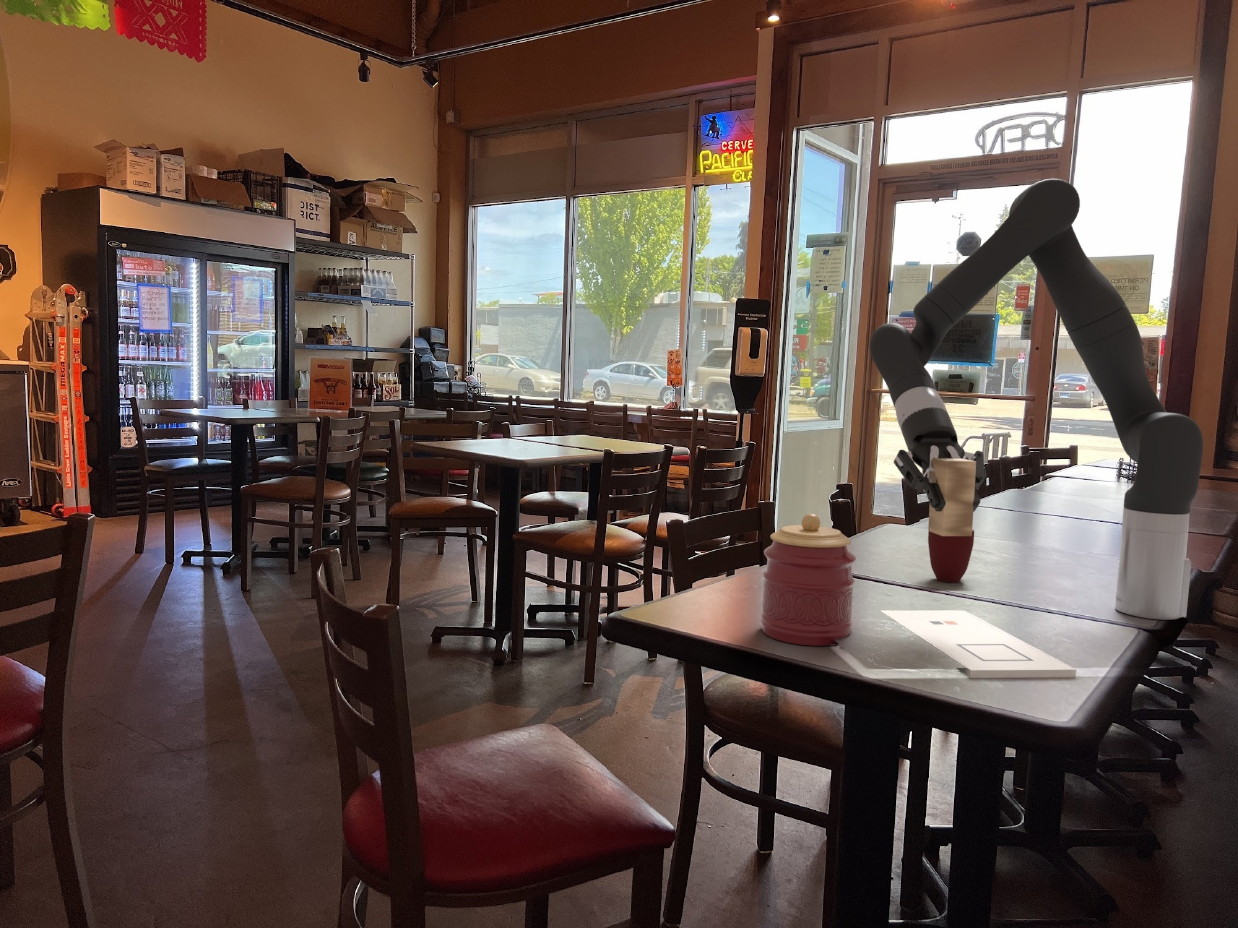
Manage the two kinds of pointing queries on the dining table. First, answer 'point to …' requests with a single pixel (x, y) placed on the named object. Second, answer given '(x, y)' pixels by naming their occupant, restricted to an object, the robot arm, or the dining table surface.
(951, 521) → the oak block
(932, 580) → the dining table surface
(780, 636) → the canister
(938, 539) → the mug
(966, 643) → the board
